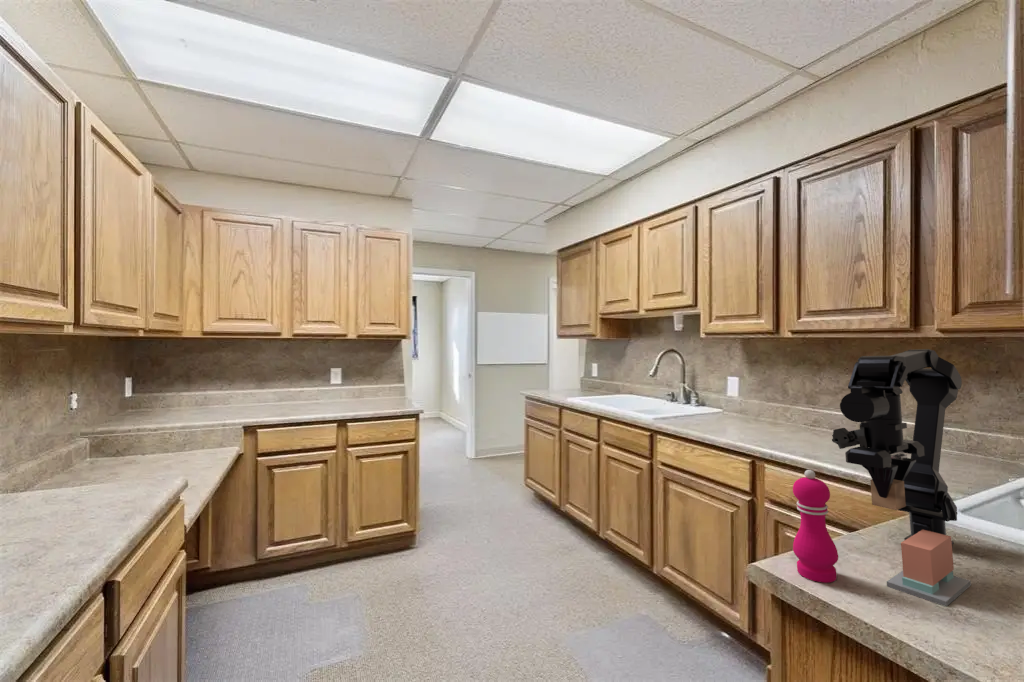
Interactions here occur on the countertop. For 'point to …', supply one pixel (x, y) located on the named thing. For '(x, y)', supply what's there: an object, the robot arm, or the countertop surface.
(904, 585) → the build plate
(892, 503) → the block
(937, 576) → the bar
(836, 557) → the pepper mill
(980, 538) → the countertop surface
